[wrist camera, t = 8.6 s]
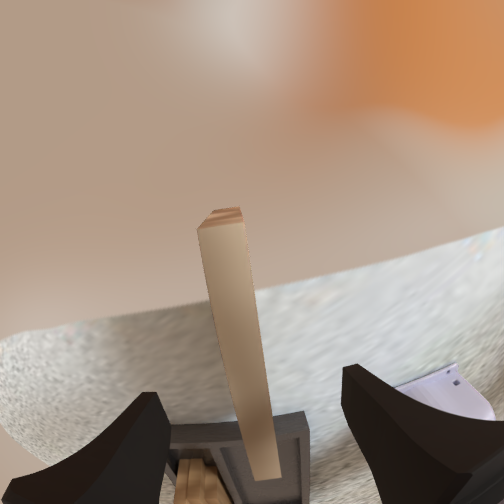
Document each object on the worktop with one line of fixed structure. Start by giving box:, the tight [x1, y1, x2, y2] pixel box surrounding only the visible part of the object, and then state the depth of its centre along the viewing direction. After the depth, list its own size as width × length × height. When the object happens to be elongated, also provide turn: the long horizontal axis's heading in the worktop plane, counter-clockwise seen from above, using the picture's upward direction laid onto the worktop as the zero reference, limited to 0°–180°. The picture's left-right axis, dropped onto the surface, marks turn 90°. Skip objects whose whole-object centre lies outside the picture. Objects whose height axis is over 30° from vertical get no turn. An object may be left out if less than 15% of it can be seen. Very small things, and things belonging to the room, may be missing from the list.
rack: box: [165, 411, 310, 504], centre depth 21 cm, size 13×20×2 cm, turn 8°
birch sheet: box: [197, 207, 281, 481], centre depth 14 cm, size 2×14×8 cm, turn 8°
